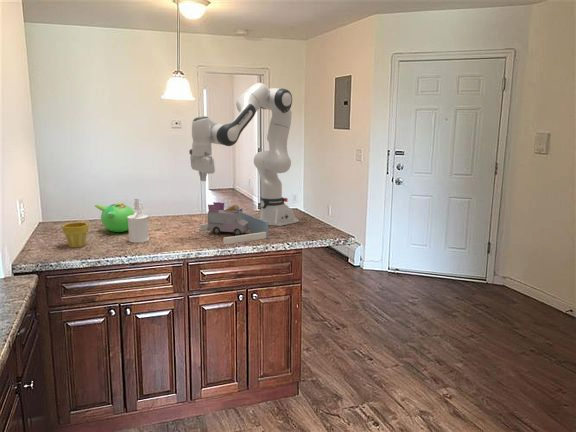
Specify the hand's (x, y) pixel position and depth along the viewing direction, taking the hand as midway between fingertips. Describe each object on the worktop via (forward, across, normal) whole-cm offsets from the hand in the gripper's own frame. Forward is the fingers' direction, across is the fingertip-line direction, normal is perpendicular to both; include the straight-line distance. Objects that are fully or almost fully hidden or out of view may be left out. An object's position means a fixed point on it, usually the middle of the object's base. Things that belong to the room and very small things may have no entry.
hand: (203, 180), depth 227 cm
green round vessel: (+27, +30, +34) cm, 53 cm away
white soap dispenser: (+27, +8, +30) cm, 41 cm away
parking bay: (+27, -4, -13) cm, 30 cm away
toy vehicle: (+28, -1, -12) cm, 30 cm away
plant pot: (+27, +13, +56) cm, 64 cm away
